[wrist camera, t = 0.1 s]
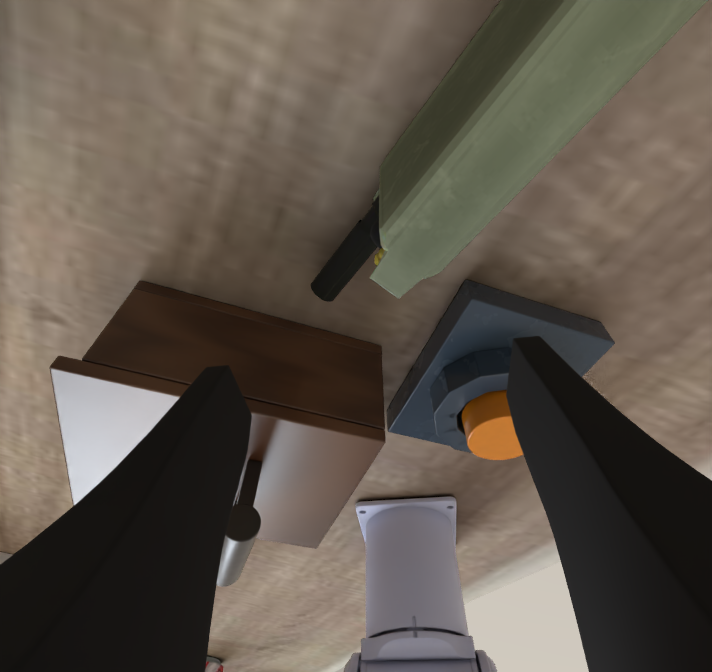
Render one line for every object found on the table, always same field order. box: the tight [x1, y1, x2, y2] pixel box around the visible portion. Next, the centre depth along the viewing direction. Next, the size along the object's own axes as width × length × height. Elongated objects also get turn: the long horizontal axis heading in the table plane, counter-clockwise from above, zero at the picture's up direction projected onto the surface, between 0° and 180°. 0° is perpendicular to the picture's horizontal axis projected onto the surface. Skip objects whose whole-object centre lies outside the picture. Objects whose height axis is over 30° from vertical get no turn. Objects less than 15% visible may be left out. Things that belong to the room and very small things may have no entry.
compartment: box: [82, 281, 385, 430], centre depth 24 cm, size 13×11×6 cm
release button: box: [462, 390, 523, 460], centre depth 22 cm, size 4×4×2 cm
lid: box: [50, 356, 385, 586], centre depth 20 cm, size 14×11×4 cm
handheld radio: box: [311, 0, 708, 302], centre depth 12 cm, size 7×3×25 cm
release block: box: [387, 280, 615, 453], centre depth 24 cm, size 10×8×4 cm
